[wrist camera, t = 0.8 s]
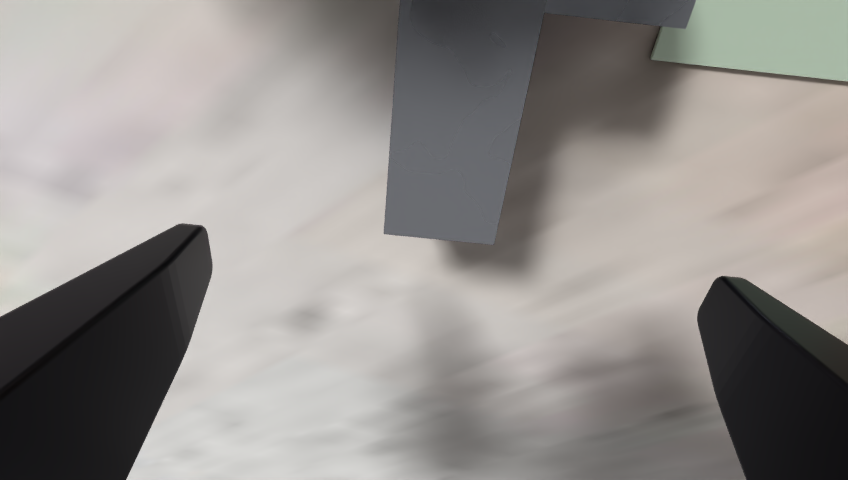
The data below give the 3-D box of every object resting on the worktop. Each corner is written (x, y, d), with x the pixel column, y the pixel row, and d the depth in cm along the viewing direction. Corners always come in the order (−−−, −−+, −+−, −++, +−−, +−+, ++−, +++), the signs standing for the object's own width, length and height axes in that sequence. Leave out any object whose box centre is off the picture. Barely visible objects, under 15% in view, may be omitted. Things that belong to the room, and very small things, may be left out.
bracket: (422, -177, 14) (413, -188, 9) (659, -147, 14) (749, -146, 10) (396, 150, 19) (383, 234, 15) (568, 168, 19) (602, 255, 15)
